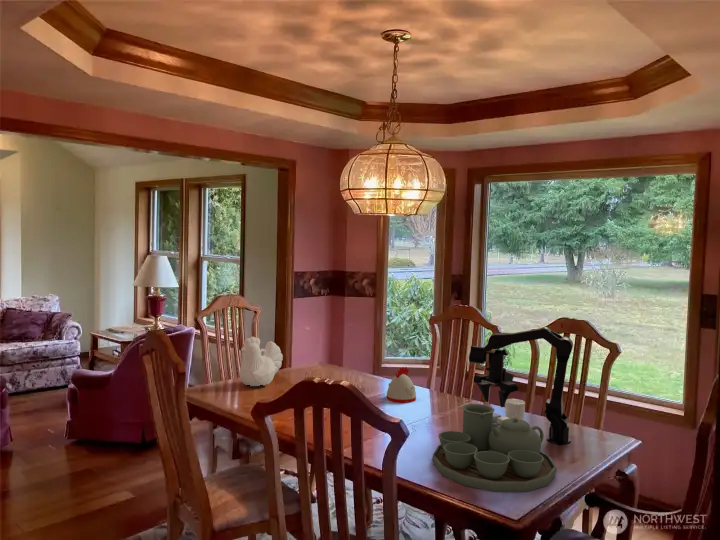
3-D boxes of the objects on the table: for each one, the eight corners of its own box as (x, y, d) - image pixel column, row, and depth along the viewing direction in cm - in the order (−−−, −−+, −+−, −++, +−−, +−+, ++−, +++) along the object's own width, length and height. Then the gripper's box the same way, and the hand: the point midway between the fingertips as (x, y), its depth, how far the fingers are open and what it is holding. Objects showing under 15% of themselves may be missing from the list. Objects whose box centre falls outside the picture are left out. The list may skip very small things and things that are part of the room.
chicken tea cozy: (422, 399, 279) (423, 368, 278) (401, 404, 270) (402, 372, 269) (400, 393, 290) (401, 362, 289) (380, 398, 280) (381, 366, 280)
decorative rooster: (246, 391, 286) (247, 340, 284) (233, 384, 298) (233, 335, 297) (292, 385, 300) (293, 336, 299) (277, 378, 313) (278, 331, 312)
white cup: (502, 426, 243) (503, 402, 242) (507, 421, 250) (508, 397, 249) (521, 429, 239) (522, 405, 238) (526, 424, 246) (527, 400, 245)
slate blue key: (500, 422, 234) (501, 415, 234) (493, 424, 232) (494, 416, 232) (493, 419, 238) (493, 412, 238) (486, 421, 236) (486, 414, 235)
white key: (512, 426, 230) (512, 419, 229) (504, 428, 227) (505, 420, 227) (504, 424, 233) (504, 416, 233) (497, 425, 231) (497, 418, 231)
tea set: (409, 466, 199) (410, 418, 198) (477, 439, 227) (479, 397, 226) (514, 507, 171) (516, 450, 170) (577, 470, 199) (580, 422, 198)
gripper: (528, 368, 231) (526, 407, 231) (493, 358, 246) (491, 396, 247) (508, 371, 224) (506, 411, 225) (473, 361, 240) (472, 399, 241)
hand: (494, 404), depth 235 cm, fingers open, 8 cm apart
